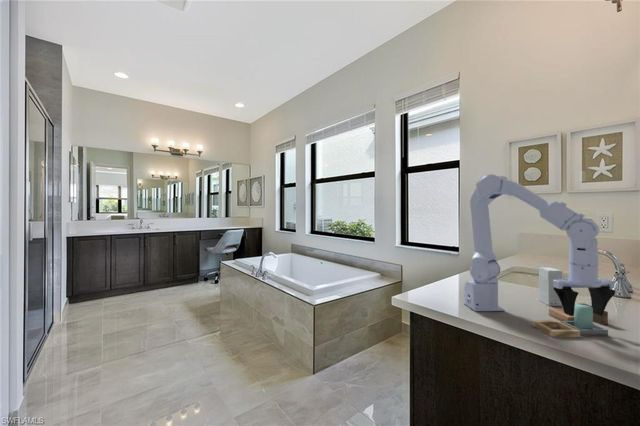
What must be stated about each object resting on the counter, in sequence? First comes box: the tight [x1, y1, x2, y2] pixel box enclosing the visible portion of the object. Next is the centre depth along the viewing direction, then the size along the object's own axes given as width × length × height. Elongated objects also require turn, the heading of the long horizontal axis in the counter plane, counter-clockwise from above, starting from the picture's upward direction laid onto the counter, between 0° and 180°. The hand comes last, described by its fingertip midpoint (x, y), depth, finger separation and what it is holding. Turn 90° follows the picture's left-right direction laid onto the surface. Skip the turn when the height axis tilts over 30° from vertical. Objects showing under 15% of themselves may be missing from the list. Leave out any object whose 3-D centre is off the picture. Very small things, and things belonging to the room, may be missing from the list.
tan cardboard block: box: [548, 307, 574, 322], centre depth 82 cm, size 5×7×2 cm
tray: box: [560, 321, 609, 337], centre depth 75 cm, size 7×6×2 cm
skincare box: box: [538, 266, 563, 307], centre depth 96 cm, size 6×4×12 cm
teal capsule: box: [574, 303, 594, 329], centre depth 75 cm, size 4×4×6 cm
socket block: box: [531, 319, 581, 338], centre depth 75 cm, size 7×7×2 cm
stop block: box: [580, 303, 609, 325], centre depth 82 cm, size 2×7×4 cm, turn 179°
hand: (583, 314), depth 75 cm, fingers open, 7 cm apart
